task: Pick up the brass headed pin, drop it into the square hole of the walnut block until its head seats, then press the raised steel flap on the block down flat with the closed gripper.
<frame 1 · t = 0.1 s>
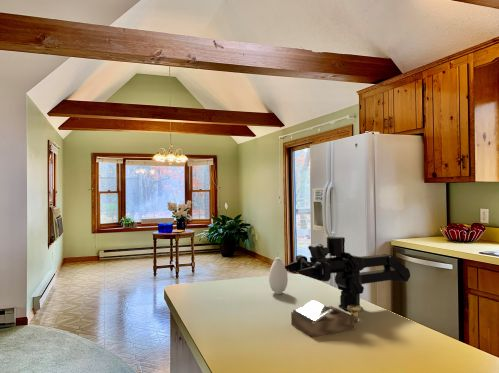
hand: (291, 269, 131), 17 cm above the kitchen island, fingers open, 9 cm apart
walnut block: (322, 326, 122), on the kitchen island
sauce bottle: (278, 294, 162), on the kitchen island
brass pin: (354, 320, 127), on the kitchen island
steel flap: (313, 310, 121), point 6 cm above the kitchen island, hinge at 22.0°, touching walnut block
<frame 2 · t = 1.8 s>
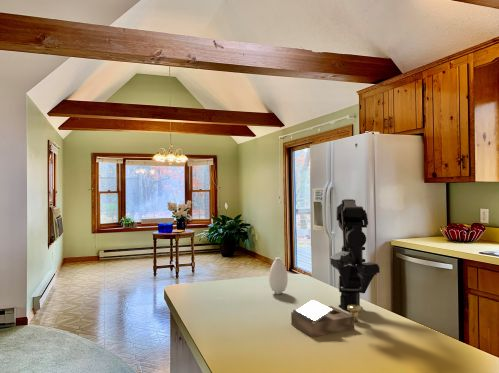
hand: (354, 289, 128), 10 cm above the kitchen island, fingers open, 9 cm apart
nothing on the kitchen island moved.
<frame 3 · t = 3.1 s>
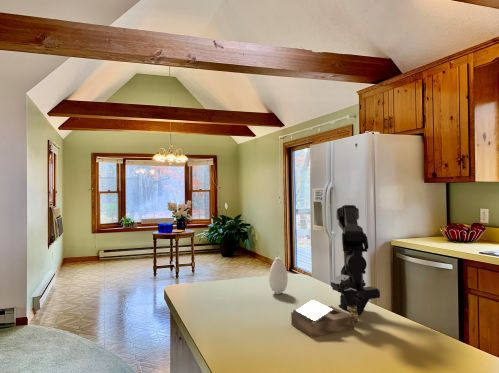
hand: (354, 313, 127), 3 cm above the kitchen island, fingers closed on brass pin, 5 cm apart
brass pin: (354, 320, 127), on the kitchen island, touching gripper
everything else where it was.
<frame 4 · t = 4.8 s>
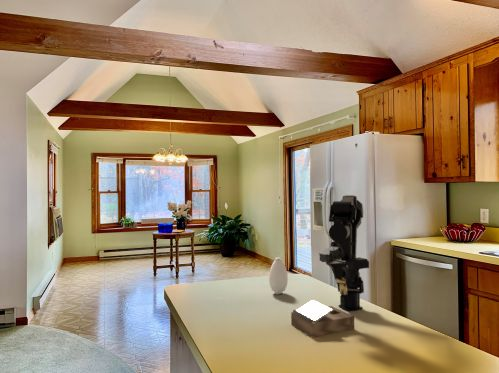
hand: (343, 286, 125), 12 cm above the kitchen island, fingers closed on brass pin, 5 cm apart
brass pin: (343, 293, 125), point 10 cm above the kitchen island, touching gripper
everything else where it was.
when the fingers open (4 cm above the kitchen island, at t = 6.8 s): brass pin drops 2 cm, resting on walnut block.
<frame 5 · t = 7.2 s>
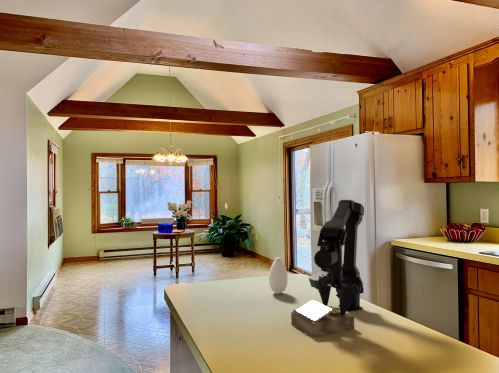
hand: (333, 310, 124), 4 cm above the kitchen island, fingers open, 9 cm apart
brass pin: (333, 323, 124), resting on walnut block
everything else where it was.
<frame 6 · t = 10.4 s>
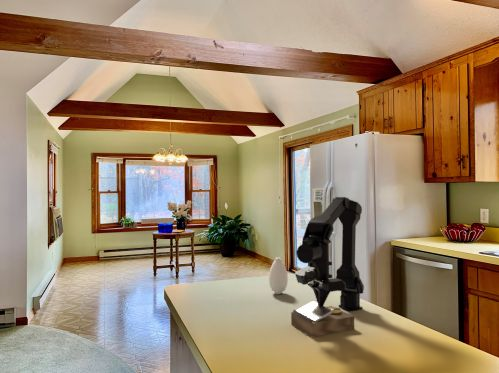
hand: (320, 306, 122), 6 cm above the kitchen island, fingers closed, pressing on steel flap
steel flap: (314, 311, 121), point 5 cm above the kitchen island, hinge at 18.7°, touching gripper, walnut block
everything else where it was.
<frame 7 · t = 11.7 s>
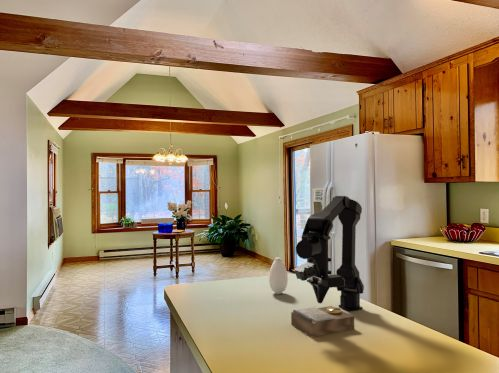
hand: (319, 303, 122), 8 cm above the kitchen island, fingers closed
steel flap: (314, 314, 121), point 4 cm above the kitchen island, hinge at 0.8°, touching walnut block
everything else where it was.
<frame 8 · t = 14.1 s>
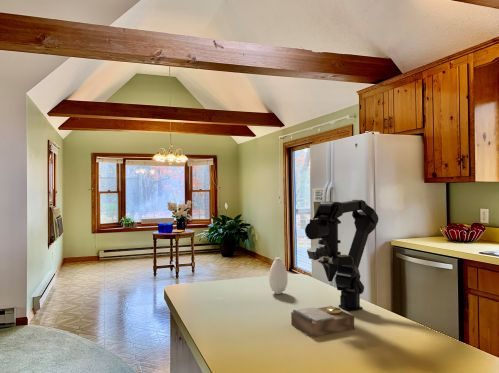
hand: (330, 281, 133), 12 cm above the kitchen island, fingers closed
nothing on the kitchen island moved.
at the end: brass pin 0.0 cm from the target spot on the walnut block, point 0.2 cm above the walnut block's base; brass pin tilted 0°; steel flap at +1° (first picture: +22°) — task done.
